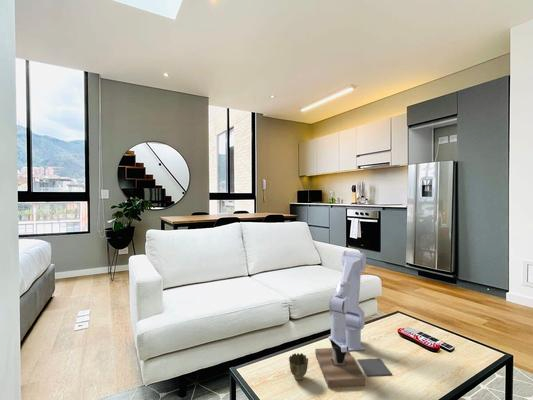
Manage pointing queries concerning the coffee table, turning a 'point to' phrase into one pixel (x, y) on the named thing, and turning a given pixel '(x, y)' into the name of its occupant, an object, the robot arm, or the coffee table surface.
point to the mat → (374, 367)
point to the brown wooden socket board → (339, 370)
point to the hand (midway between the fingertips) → (338, 359)
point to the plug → (334, 359)
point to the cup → (298, 365)
